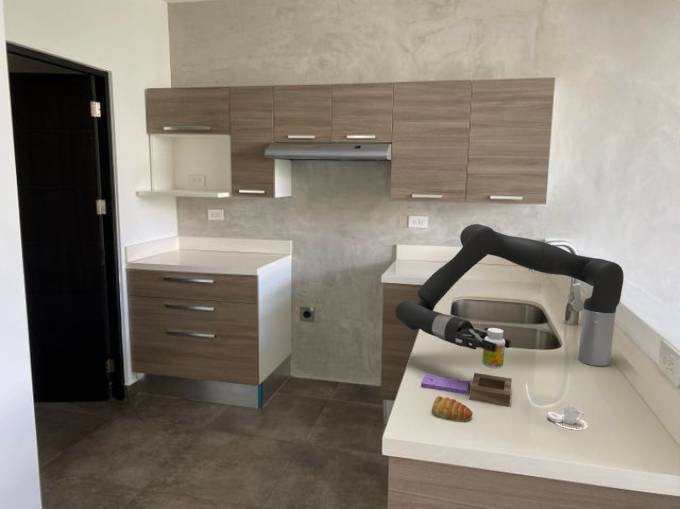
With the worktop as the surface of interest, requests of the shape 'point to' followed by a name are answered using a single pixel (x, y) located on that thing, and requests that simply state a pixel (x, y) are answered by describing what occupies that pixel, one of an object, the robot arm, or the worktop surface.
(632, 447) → the worktop surface
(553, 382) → the worktop surface
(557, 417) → the teacup and saucer
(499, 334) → the supplement bottle
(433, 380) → the sponges
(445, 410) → the pastry
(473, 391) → the bottle holder
